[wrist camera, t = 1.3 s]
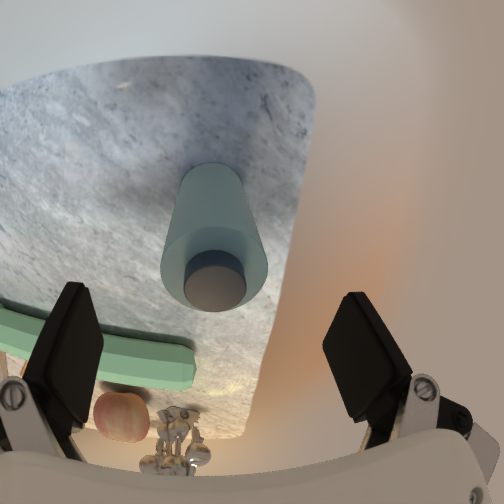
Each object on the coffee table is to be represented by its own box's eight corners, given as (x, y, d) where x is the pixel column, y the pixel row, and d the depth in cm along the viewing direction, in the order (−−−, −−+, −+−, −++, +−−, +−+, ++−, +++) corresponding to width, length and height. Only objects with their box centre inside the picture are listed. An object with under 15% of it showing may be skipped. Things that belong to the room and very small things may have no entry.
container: (200, 394, 22) (-26, 341, 15) (193, 398, 26) (-1, 355, 19) (201, 334, 25) (-13, 291, 18) (193, 348, 30) (8, 312, 23)
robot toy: (160, 429, 40) (162, 500, 28) (132, 419, 37) (130, 495, 25) (215, 409, 37) (225, 498, 24) (184, 398, 33) (189, 496, 21)
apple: (89, 386, 30) (81, 434, 24) (115, 372, 29) (107, 428, 22) (132, 407, 34) (129, 452, 28) (162, 396, 33) (161, 447, 26)
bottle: (181, 160, 17) (153, 236, 9) (247, 165, 18) (284, 243, 9) (178, 220, 19) (161, 327, 11) (238, 223, 20) (262, 329, 12)
